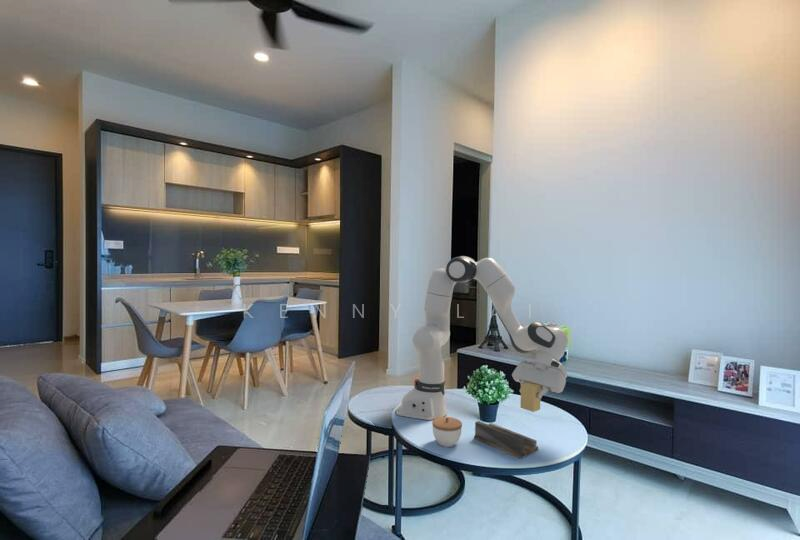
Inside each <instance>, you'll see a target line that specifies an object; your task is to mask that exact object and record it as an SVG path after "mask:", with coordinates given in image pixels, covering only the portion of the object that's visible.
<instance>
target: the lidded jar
mask: <svg viewBox="0 0 800 540" xmlns="http://www.w3.org/2000/svg"><path fill="white" fill-rule="evenodd" d="M431 424H432V433H433V438H434V439H435V440H436V442H437V443H438V445H440V446H442V447H445V448H447V447H448V448H449V447H451V448H452V447H454V446H455V445H456V444H457V443H458V442H459V440H460V438H461V436H462V430H463V429H462V427H463V422H462V421H461V420H460V419H458V418H456V417H450V416H443V417H438V418H435V419H433V420H432V423H431Z"/></svg>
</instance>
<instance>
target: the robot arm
mask: <svg viewBox="0 0 800 540" xmlns="http://www.w3.org/2000/svg"><path fill="white" fill-rule="evenodd" d="M471 280H475V281H477V282H478V283H479V284H480V285H481V286H482V288H483V289H484V291H485V293H487V295H488V297H489V299H490V301H491V304H492V305H493V309H494V311H495V312H496V315H497V317H498V318H499V320H500V322H501V324H502V325H503V327H504V329H505V330H506V332H507V334H508V337H509V340H510V342H511V346H512V347H513V349H514V350H516V352H519V353H520V354H529V353H531V352H533V350H535V351H536V354H535V357H534V358H533V360H532V361H527V360H523V361H520V362H519V363H518V364H517V366H516V367H515V369H514V370H513V371H512V373H511V376H512V378H513V380H514V381H515V382H517V383H520V385H521V384H523V383H526V382H530V383H534V384H537V385H541V391H540V392H537V394H536V397H537V398H539V399H540V400H542V397H543V396H544V395H546V394H547V393H548V392H554V393H556V394H560V393H562V392H563V391H564V388H565V387H566V383H567V380H566V378H568V372H567V370H566V368H565V367H564V365H563V364H562V363H561V362H560V360H561V358H563V356H564V355H565V351H566V349H567V347H568V343H569V337H568V335H567V333H566V332H565V331H564V330H562V329H560V328H558V327H549V326H547V325H545V324H544V323H542V322H539V321H534V322H531V323H528V324H527V325H525V326H524V327H523V326H522V325H521V323H520V321H519V320H518V318H517V317H516V315H515V313H514V311H513V310H512V300H513V298H514V295H515V290H516V289H515V285H514V283H513V280H512V279H511V277H509V275H508V273H507V272H506V270H504V268H502V266H501V265H500V264H499V263H498V262H497V261H496V260H495V259H494V258H491V257H484V258H481V259H479V260H478V261H476V260H475V259H474V258H472V257H471V256H466V255H459V256H456V257H453V258H451V259H450V260H449V261H448V262H447V264H446V267H445V268H443V267H441V268H436V269H434V270H433V271H432V272H431V276H430V279H429V281H428V286H427V290H426V297H425V302H424V306H423V307H424V309H423V310H424V312H425V325H423V326H421V327H419V329H418V330H416V331H415V333H414V335H413V338H412V343H413V346H414V348H415V349H416V353H417V357H418V367H419V368H418V377H415V378H414V384H413V385H414V387H413V388H412V389H411V390H409V391H408V392H407V393H405V394H404V395H403V397H402V400H401V403H400V404H398V405H397V407H396V409H395V413H396V415H397V414H398V415H397V416H399V417H408V418H413V419H420V420H424V421H425V420H426V421H433V420H434V419H436V418H438V417H446V416H447V415H448V410H447V405H446V399H445V394H446V381H445V362H444V360H443V356H442V346H445V345H446V343H448V341H449V339H450V336H451V331H450V310H451V305H452V304H451V303H452V299H453V293H454V292H453V291H454V287H455V286H456V284H457V283H467V282H469V281H471ZM519 393H520V394H521V387H520V388H519Z"/></svg>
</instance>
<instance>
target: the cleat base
mask: <svg viewBox="0 0 800 540" xmlns="http://www.w3.org/2000/svg"><path fill="white" fill-rule="evenodd" d="M474 423H475V424H474V425H475V426H474V435H473V439H475V440H476V441H480V442H482V443H484V444H486V445H488V446H489V447H490V446H491V447H493V448H495V449H497V450H500V451H502V452H503V453H506V454H508V455H511V456H513V457H515V458H517V459H522V458H524V457H526V456H528V455H530V454H532V453H534V452H535V451H538V450H539V446H537V440H536V439H534V438H531V437H528V436H526V435H523V434H521V433H519V432H516V431H514V430H513V431H512V430H511V429H507V428H506V427H502V426H501V425H498V424H495V423H493V422H490V423H489V422H488V423H485V422H482V421H480V420H478V421H475V422H474Z"/></svg>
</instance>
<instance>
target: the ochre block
mask: <svg viewBox="0 0 800 540" xmlns="http://www.w3.org/2000/svg"><path fill="white" fill-rule="evenodd" d="M520 388H521V393H520V409H523V410H526V411H529V412H532V413H535V412H537V411H539V410H541V399H539V398H537V397H536V394H537V392H540V391H541V390H542V388H541V385H537V384H534V383H530V382H526V383H523V384H520Z"/></svg>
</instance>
